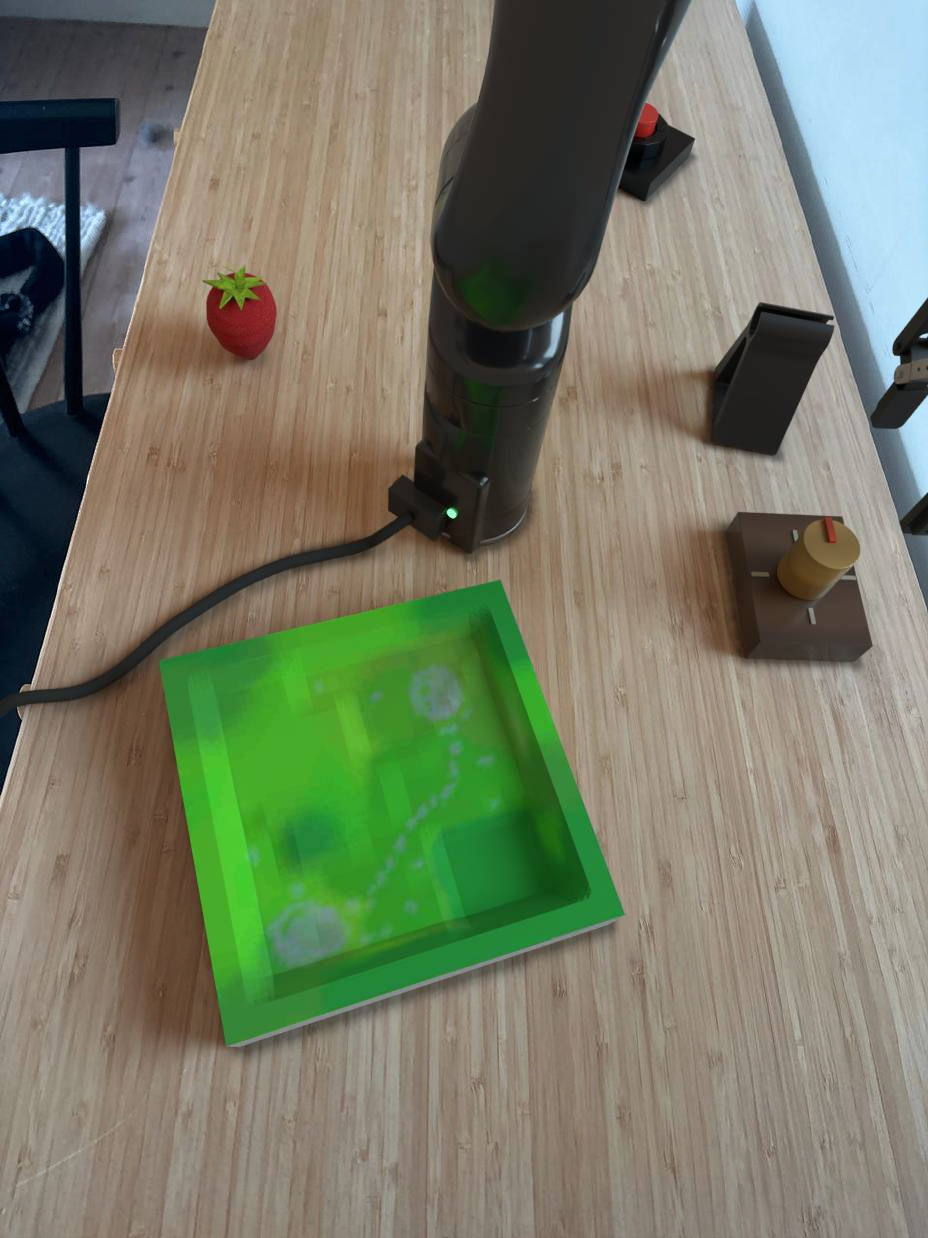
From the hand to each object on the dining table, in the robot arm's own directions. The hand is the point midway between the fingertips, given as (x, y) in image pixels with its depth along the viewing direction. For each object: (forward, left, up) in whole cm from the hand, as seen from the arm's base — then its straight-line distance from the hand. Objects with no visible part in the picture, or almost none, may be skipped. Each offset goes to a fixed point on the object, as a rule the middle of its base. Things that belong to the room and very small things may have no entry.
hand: (898, 475), depth 58 cm
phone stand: (+14, +13, -16) cm, 25 cm away
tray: (-35, +16, -16) cm, 42 cm away
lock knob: (-1, +1, -13) cm, 13 cm away
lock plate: (-1, +1, -16) cm, 16 cm away
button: (+38, +39, -13) cm, 56 cm away
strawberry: (-10, +51, -16) cm, 55 cm away
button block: (+38, +40, -16) cm, 57 cm away
